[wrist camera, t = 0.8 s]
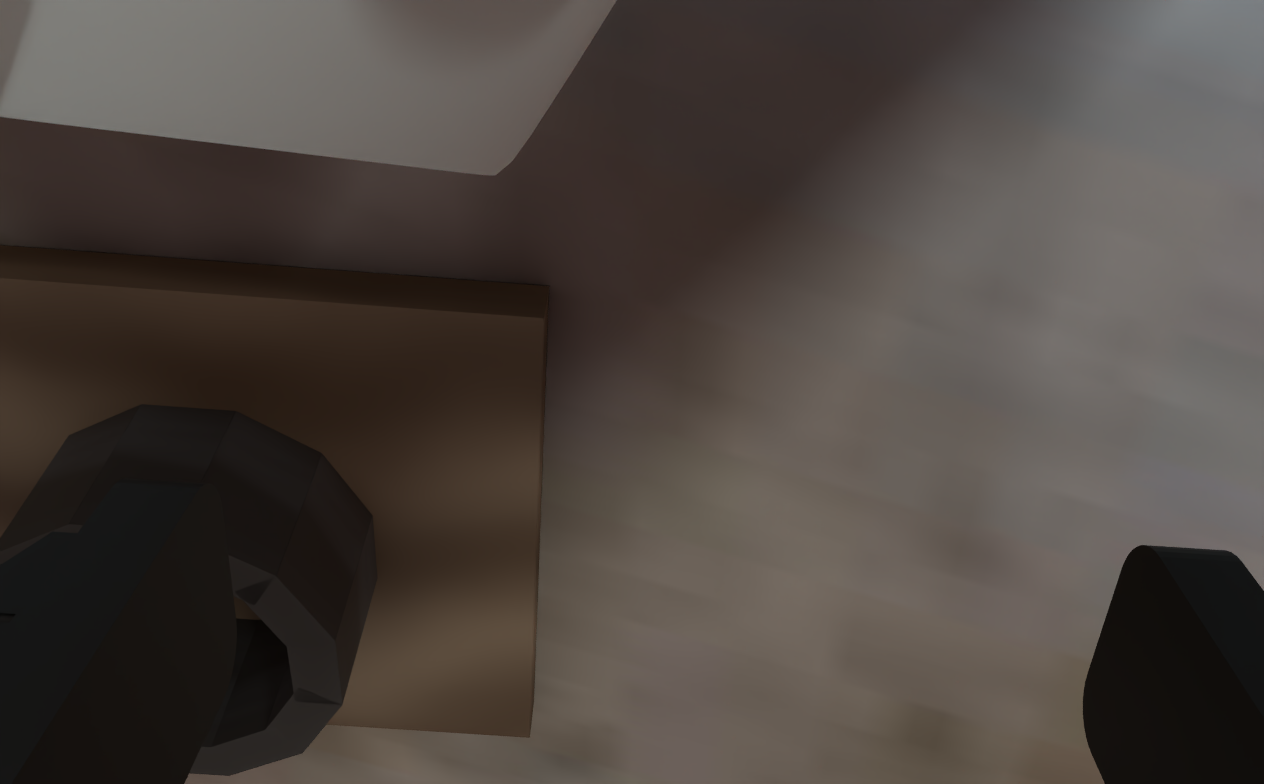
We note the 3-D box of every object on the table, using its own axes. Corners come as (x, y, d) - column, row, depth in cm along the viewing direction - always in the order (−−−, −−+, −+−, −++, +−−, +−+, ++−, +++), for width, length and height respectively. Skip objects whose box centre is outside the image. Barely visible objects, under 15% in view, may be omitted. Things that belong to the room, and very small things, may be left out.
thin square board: (-181, 231, 29) (-353, 371, 24) (548, 285, 29) (526, 434, 24) (-16, 664, 38) (-115, 827, 33) (533, 700, 38) (515, 866, 34)
